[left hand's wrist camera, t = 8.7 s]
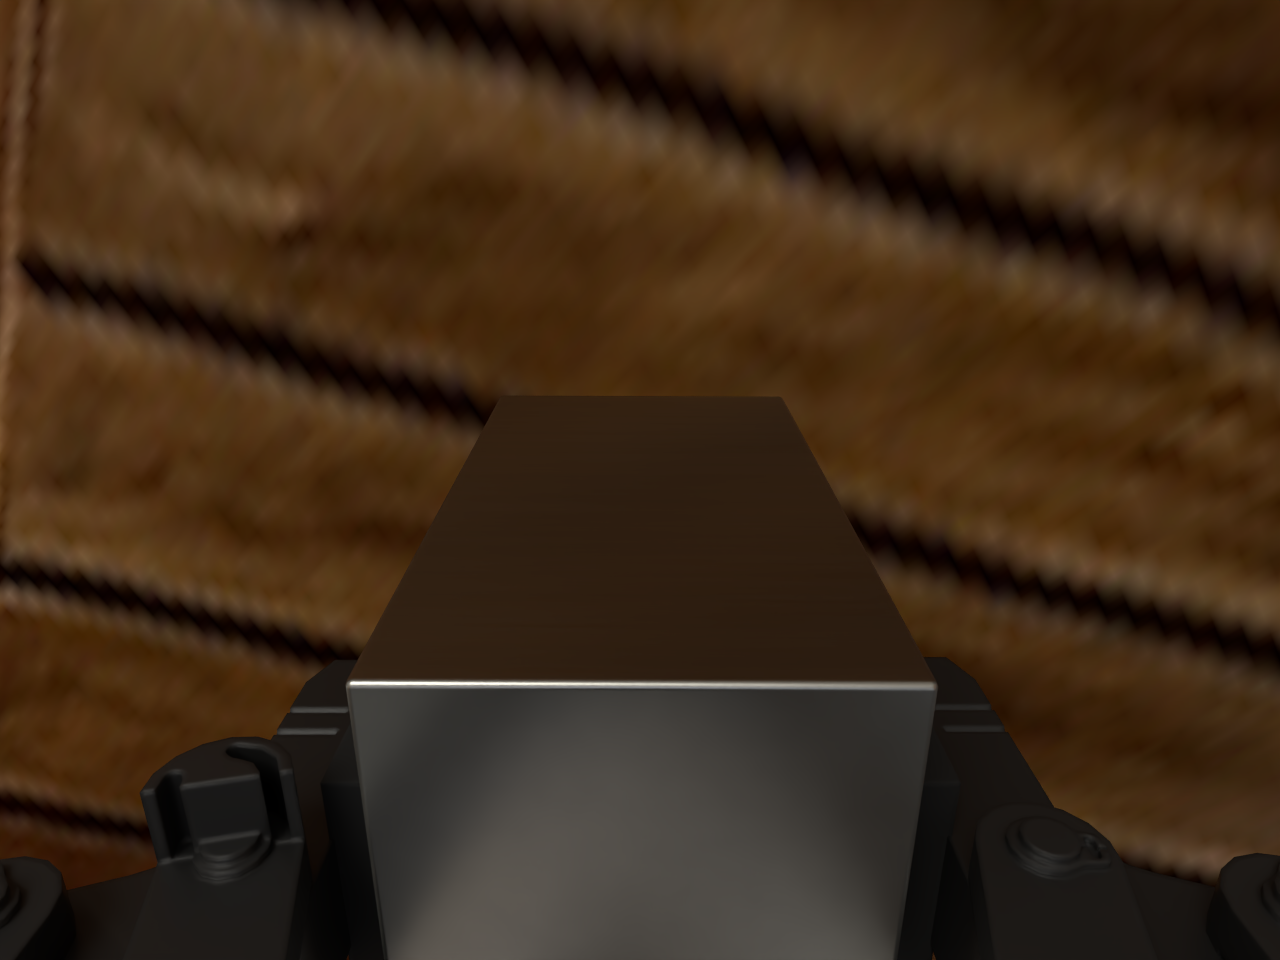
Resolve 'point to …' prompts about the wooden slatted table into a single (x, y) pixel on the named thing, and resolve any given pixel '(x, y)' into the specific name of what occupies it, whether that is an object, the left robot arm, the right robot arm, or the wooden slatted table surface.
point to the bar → (641, 700)
